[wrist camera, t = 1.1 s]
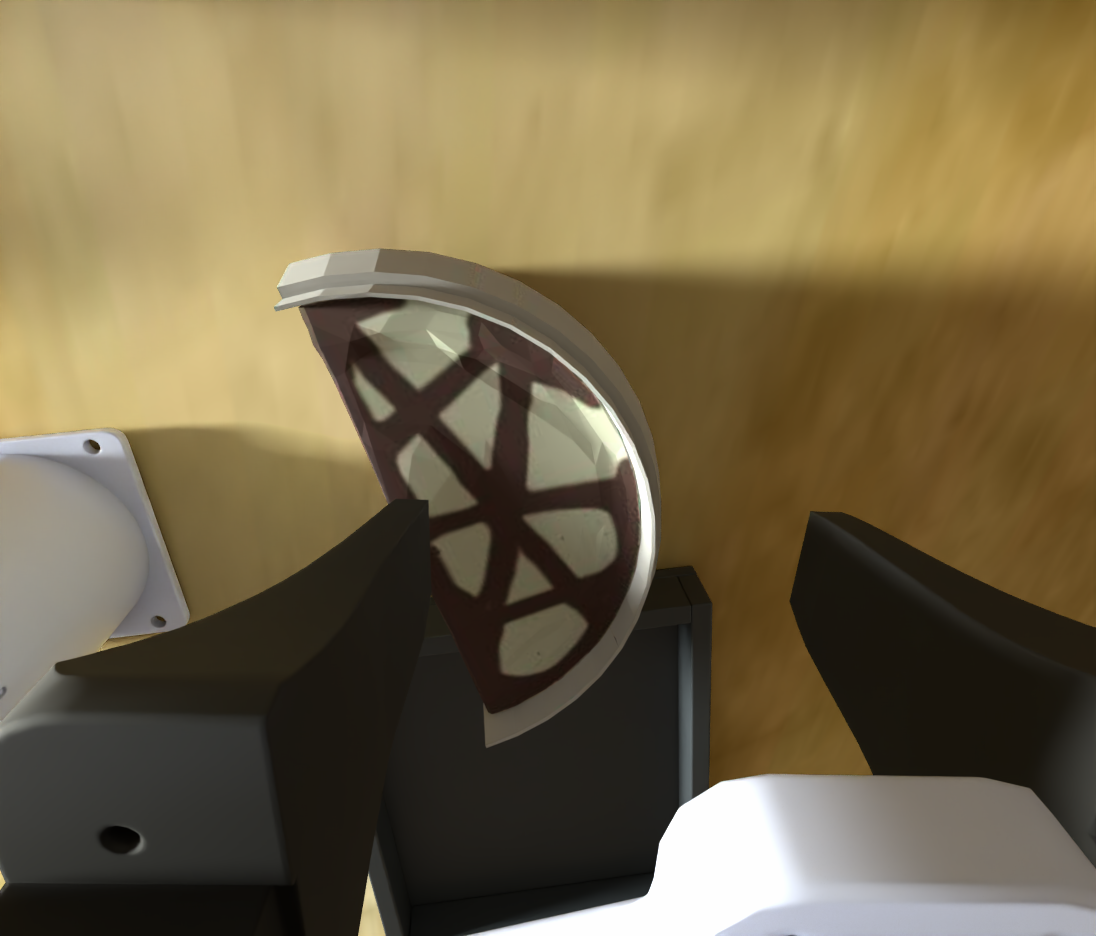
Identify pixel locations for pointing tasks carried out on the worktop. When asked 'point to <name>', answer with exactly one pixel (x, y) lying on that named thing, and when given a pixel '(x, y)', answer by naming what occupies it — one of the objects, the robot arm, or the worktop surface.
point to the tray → (544, 781)
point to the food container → (497, 462)
